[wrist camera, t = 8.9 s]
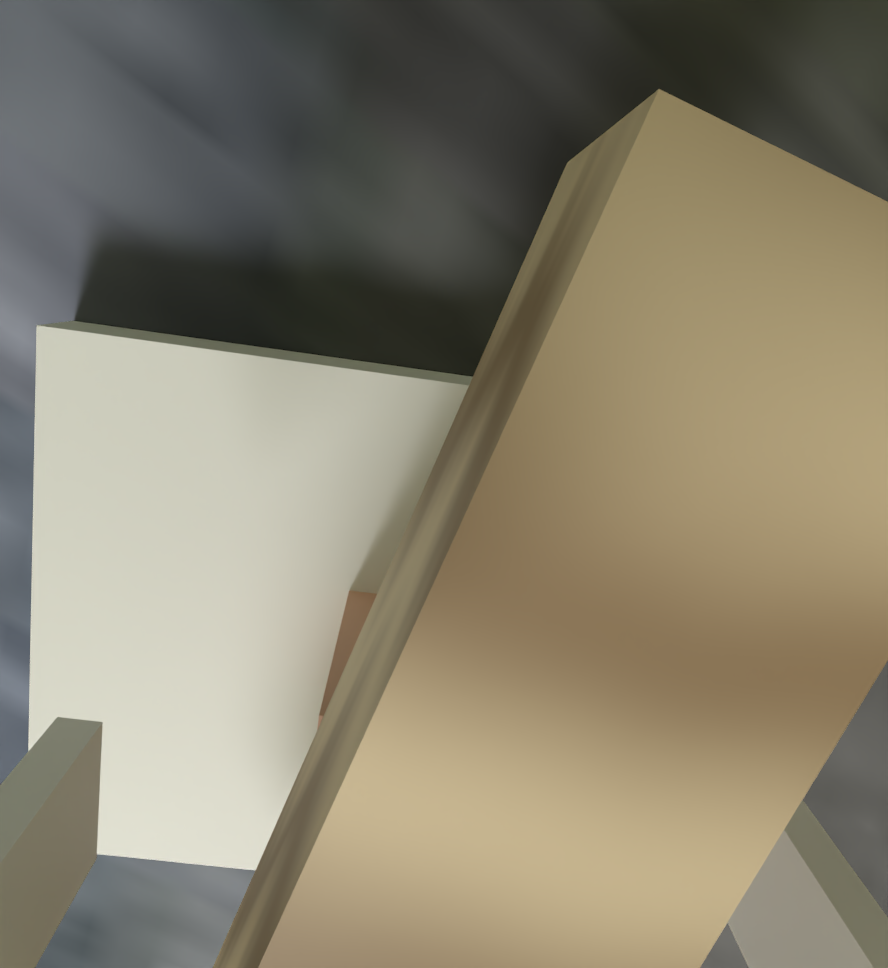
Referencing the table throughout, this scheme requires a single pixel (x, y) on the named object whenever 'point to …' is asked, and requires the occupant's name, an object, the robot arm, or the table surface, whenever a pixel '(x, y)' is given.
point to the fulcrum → (211, 564)
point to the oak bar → (613, 584)
